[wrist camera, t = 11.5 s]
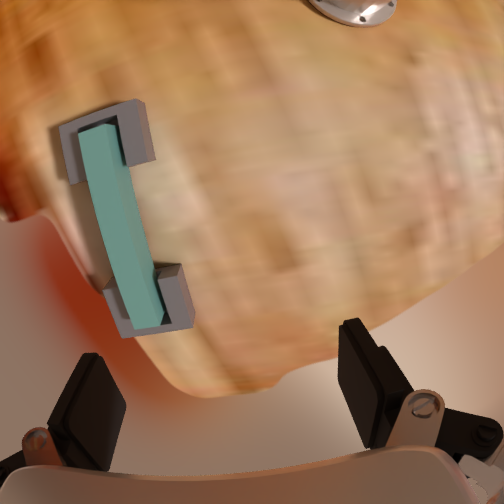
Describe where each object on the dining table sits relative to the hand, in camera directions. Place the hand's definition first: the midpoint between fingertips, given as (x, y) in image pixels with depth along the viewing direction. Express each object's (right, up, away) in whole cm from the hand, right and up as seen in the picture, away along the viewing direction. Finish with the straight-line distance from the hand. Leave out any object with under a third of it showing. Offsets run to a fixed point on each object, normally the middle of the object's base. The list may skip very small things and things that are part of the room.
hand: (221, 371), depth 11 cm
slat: (-12, +8, +21) cm, 26 cm away
